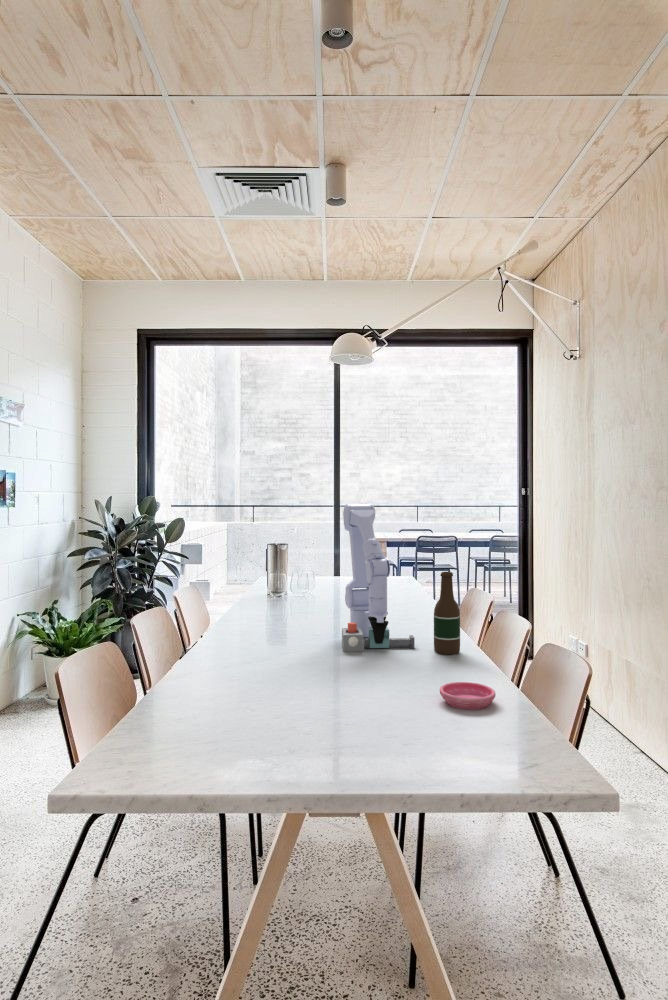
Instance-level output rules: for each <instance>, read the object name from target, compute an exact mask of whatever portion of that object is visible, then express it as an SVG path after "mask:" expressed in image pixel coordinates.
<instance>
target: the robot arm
mask: <svg viewBox="0 0 668 1000" xmlns="http://www.w3.org/2000/svg"><path fill="white" fill-rule="evenodd" d="M375 508H376V507H375V506H374V504H372V503H368V504H367V503H366V504H365V503H364V504H357V503H356V504H349V503H347V504H345V505H344V507H343V512H342V517H343V526H344V529H345V530H346V531H348V534H349V540H350V555H351V567H352V569H351V570H352V580H351V581H350V582H348V583H347V584H346V587H345V594H344V595H345V596H344V601H345V606H346V607H347V608H348V609H349V610H350V616H349V617H350V619H349V620H350V621H349V623H351V622H354V623H357V628H361V630H362V633H363V638H369V628H368V627H372V628H373V632H374V639H375V643H376V644H382V643H383V639H384V633H385V629H386V627H388V624H389V620H386V619H387V616H388V614H389V612H388V577H390V574H391V564H390V561H389V559H388V558H387V556H386V555H384V552H383V549H382V546H381V543H380V541H379V540H378V539H376V536H375V531H374V521H375V518H376V509H375Z"/></svg>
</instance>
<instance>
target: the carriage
mask: <svg viewBox="0 0 668 1000" xmlns="http://www.w3.org/2000/svg"><path fill="white" fill-rule="evenodd" d="M368 628H369V637H368V639H369V640H370V648H369V649H390V648H389V638H390V628H389V627H388V626H387V627H386V629H385V633H384V639H383V643H382V644H376V643H375V639H374V632H373V628H372V627H368Z"/></svg>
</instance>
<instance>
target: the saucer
mask: <svg viewBox="0 0 668 1000" xmlns="http://www.w3.org/2000/svg"><path fill="white" fill-rule="evenodd" d="M439 694H440V696H441V697H442V699H443V700H445V702H446V704H447V705H449V706H451V707H454V708H456V709H462V710H480V709H485V708H487V707H488V706H489V705H490V704H491V703H492V702H493V701H494V699H495V698H496V691H495V690H494V688H492V687H490V686H488V685H485V684H482V683H477V682H469V681H468V682H467V681H456V682H448V683H444V684H443V685H441V686H440V688H439Z"/></svg>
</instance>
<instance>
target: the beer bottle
mask: <svg viewBox="0 0 668 1000" xmlns="http://www.w3.org/2000/svg"><path fill="white" fill-rule="evenodd" d="M440 576H441V577H440V578H441V579H440V595H439V598H438V600H437V602H436V604H435V606H434V609H433V651H434V652H435V653H436V654H438V655H445V656H452V655H453V656H454V654H455V655H459V653H460V652H461V613H460V612H461V611H460V606H459V605H458V602H457V601H456V600H455V596H454V585H453V584H454V583H453V577H454V573H453V572H451V571H442V572H440Z"/></svg>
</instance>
